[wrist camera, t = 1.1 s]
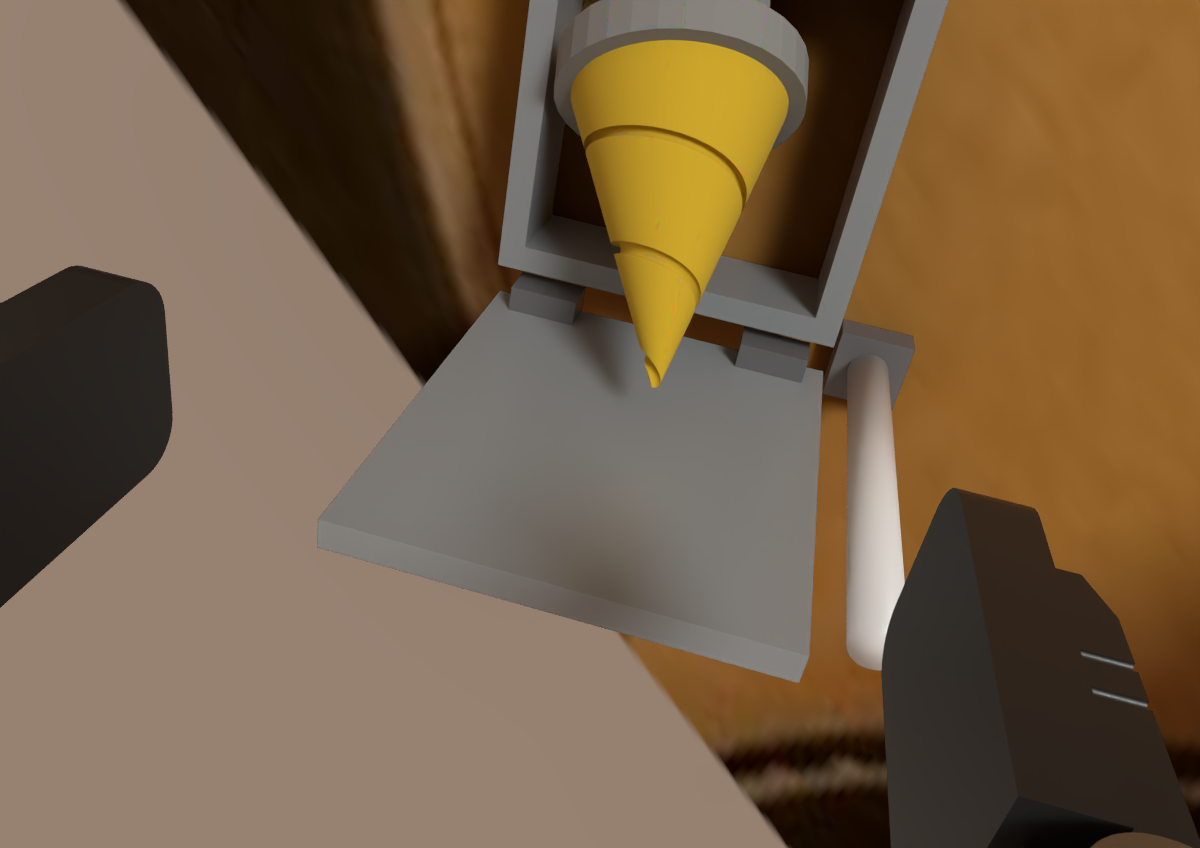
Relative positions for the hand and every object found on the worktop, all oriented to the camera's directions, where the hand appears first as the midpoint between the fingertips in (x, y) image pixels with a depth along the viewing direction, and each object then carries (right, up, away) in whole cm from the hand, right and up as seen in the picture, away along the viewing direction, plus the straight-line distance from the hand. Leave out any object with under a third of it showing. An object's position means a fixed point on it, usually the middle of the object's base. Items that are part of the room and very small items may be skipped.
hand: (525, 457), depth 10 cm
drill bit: (+4, +8, +14) cm, 16 cm away
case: (+4, +7, +14) cm, 16 cm away
